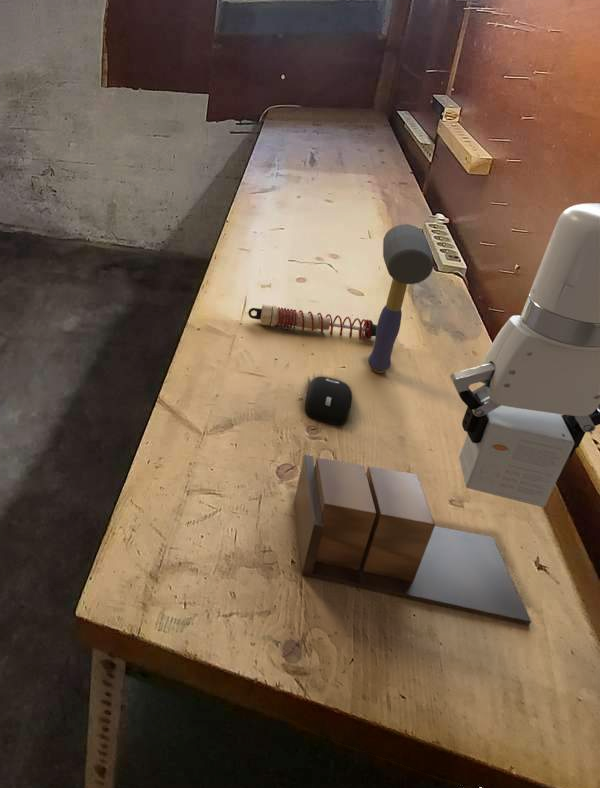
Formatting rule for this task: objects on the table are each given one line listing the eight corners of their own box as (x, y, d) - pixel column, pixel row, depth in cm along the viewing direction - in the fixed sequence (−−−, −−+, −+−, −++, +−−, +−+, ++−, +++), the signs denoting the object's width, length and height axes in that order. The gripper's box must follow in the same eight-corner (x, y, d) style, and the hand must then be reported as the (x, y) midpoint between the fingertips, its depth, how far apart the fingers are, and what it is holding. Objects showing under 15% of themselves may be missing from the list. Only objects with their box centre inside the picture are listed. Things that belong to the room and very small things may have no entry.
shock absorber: (392, 320, 123) (249, 300, 131) (398, 324, 118) (249, 303, 127) (389, 341, 123) (246, 320, 132) (395, 346, 118) (247, 324, 127)
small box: (532, 475, 71) (561, 410, 66) (544, 509, 66) (577, 442, 62) (456, 456, 74) (480, 393, 69) (464, 488, 69) (489, 423, 65)
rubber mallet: (401, 392, 107) (441, 252, 93) (357, 383, 110) (390, 246, 96) (396, 355, 117) (431, 223, 103) (356, 348, 120) (385, 219, 106)
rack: (490, 540, 79) (518, 480, 74) (529, 625, 68) (564, 563, 63) (293, 502, 86) (306, 445, 80) (301, 575, 75) (316, 514, 70)
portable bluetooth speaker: (352, 390, 108) (356, 373, 106) (346, 430, 99) (351, 412, 97) (310, 379, 111) (314, 362, 109) (301, 416, 102) (304, 399, 100)
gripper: (646, 310, 60) (585, 432, 68) (461, 293, 65) (424, 409, 73) (695, 351, 54) (621, 480, 62) (486, 328, 58) (442, 451, 66)
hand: (515, 441), depth 67 cm, fingers closed on small box, 8 cm apart
